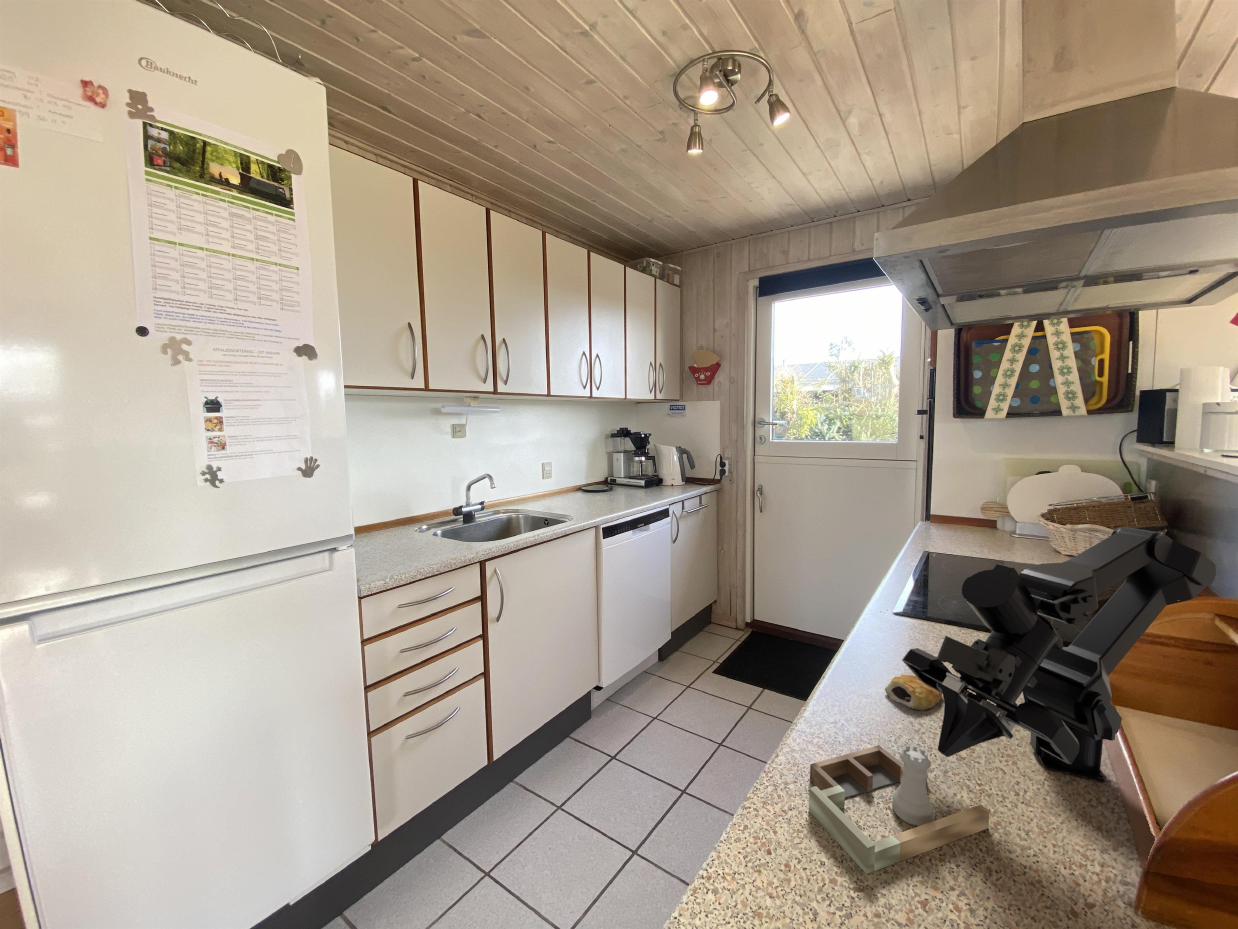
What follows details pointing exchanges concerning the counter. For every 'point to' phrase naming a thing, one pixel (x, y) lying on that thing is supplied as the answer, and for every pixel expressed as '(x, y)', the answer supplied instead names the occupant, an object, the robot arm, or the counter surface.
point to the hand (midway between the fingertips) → (942, 753)
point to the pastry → (912, 692)
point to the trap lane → (866, 775)
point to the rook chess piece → (913, 789)
